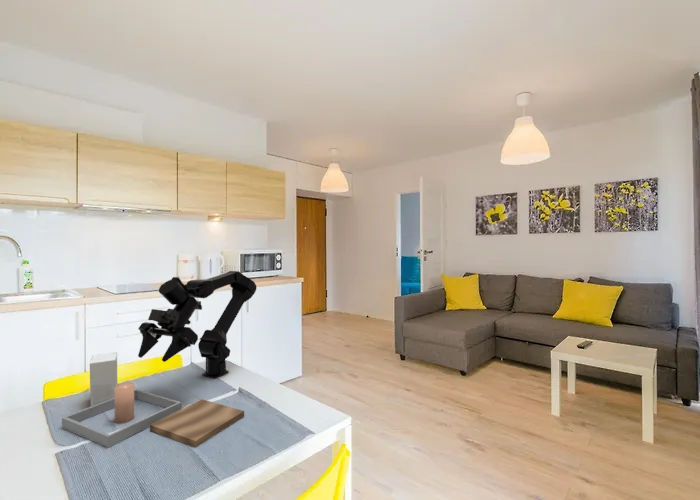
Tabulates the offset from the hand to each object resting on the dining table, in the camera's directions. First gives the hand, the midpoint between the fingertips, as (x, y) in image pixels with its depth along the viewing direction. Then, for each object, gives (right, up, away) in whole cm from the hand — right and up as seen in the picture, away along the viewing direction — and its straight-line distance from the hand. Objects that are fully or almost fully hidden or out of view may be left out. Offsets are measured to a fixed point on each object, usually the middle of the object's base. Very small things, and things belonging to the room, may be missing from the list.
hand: (151, 359), depth 101 cm
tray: (-3, -14, -7) cm, 16 cm away
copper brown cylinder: (-3, -14, -7) cm, 16 cm away
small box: (-16, -14, +3) cm, 21 cm away
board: (+18, -14, -9) cm, 24 cm away
